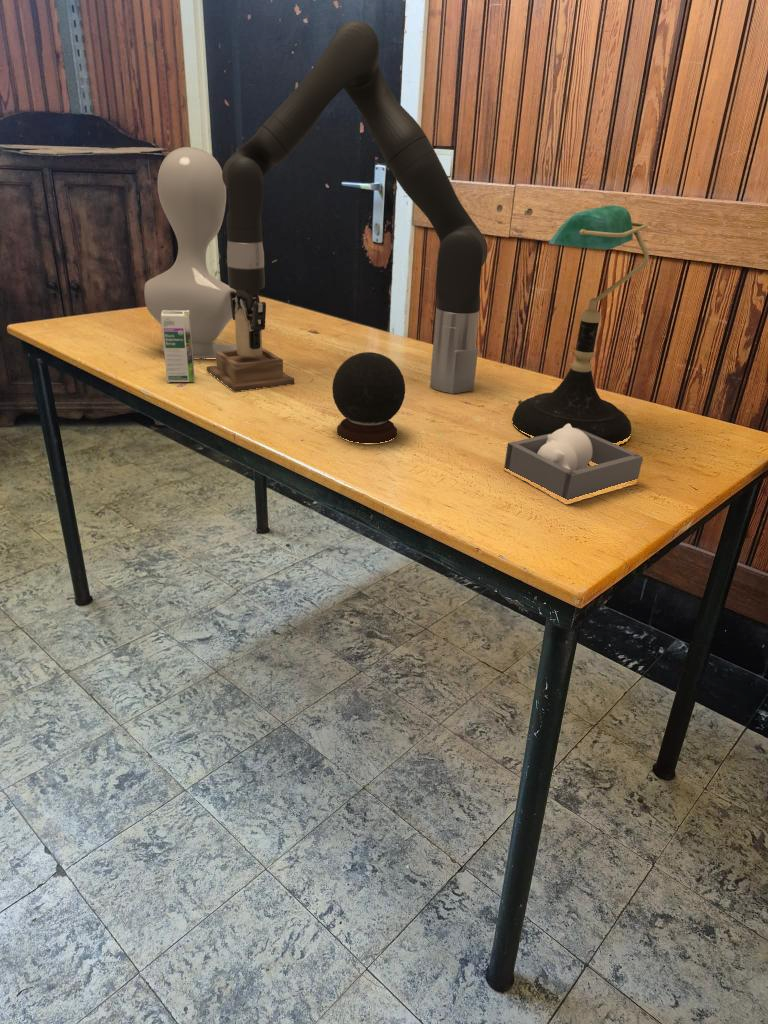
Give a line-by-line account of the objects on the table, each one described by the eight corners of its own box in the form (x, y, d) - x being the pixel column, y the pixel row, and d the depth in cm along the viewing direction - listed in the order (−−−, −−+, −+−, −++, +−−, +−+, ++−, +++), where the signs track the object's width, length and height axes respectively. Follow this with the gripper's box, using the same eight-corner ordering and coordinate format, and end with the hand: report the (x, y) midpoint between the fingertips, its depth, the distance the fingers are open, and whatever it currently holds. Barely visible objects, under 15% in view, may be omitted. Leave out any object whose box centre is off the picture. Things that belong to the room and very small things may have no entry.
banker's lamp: (533, 399, 154) (564, 199, 135) (641, 420, 145) (690, 210, 126) (492, 435, 132) (522, 205, 114) (615, 463, 124) (670, 218, 105)
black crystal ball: (413, 428, 134) (418, 350, 127) (384, 452, 123) (389, 368, 116) (351, 416, 138) (353, 340, 131) (318, 437, 127) (319, 355, 120)
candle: (236, 357, 151) (234, 310, 147) (237, 350, 156) (234, 304, 151) (262, 357, 152) (260, 310, 148) (262, 350, 157) (260, 305, 152)
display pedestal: (294, 384, 154) (294, 361, 152) (234, 392, 147) (233, 368, 145) (263, 365, 166) (263, 344, 164) (206, 371, 159) (205, 350, 157)
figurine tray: (636, 484, 116) (643, 456, 114) (566, 505, 108) (572, 475, 105) (572, 453, 126) (577, 427, 124) (503, 470, 118) (507, 442, 116)
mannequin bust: (257, 345, 181) (251, 150, 161) (228, 366, 164) (217, 149, 143) (177, 337, 184) (161, 144, 163) (140, 357, 166) (116, 143, 146)
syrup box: (166, 383, 150) (159, 314, 143) (168, 375, 155) (161, 308, 148) (194, 383, 151) (188, 315, 145) (194, 375, 156) (189, 308, 150)
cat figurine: (561, 435, 108) (587, 412, 117) (504, 454, 115) (533, 431, 124) (583, 486, 110) (607, 460, 118) (525, 501, 116) (552, 476, 125)
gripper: (277, 268, 142) (279, 351, 150) (248, 258, 153) (251, 336, 160) (242, 270, 138) (246, 355, 146) (215, 259, 149) (220, 339, 157)
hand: (249, 344), depth 153 cm, fingers closed on candle, 5 cm apart
